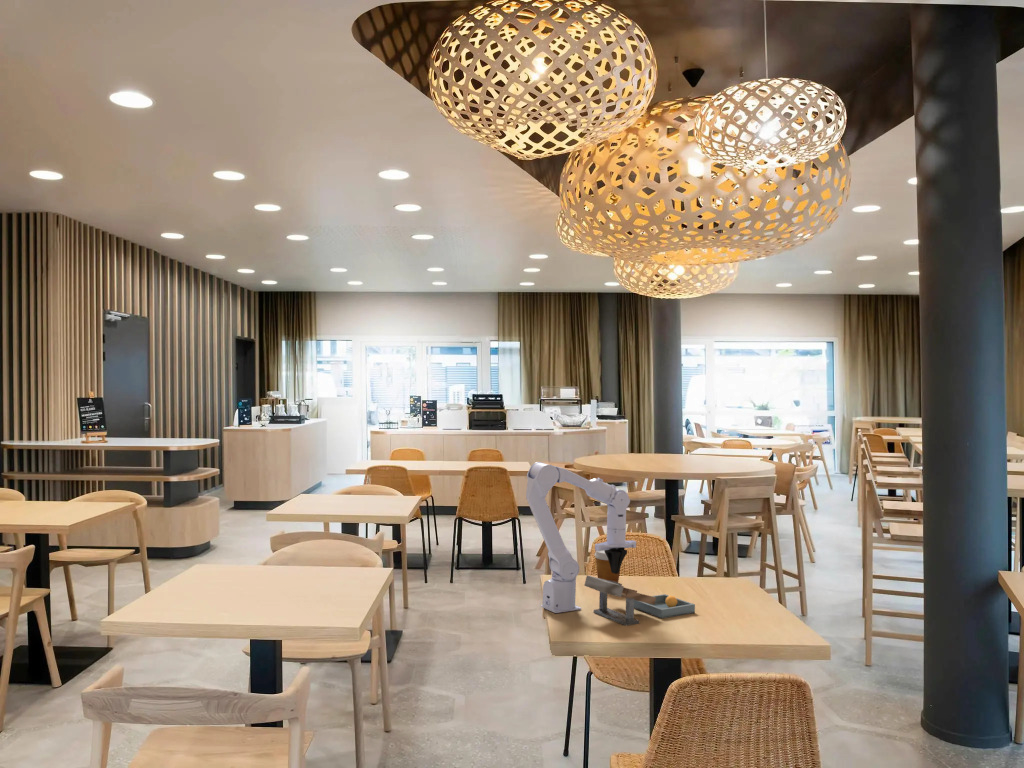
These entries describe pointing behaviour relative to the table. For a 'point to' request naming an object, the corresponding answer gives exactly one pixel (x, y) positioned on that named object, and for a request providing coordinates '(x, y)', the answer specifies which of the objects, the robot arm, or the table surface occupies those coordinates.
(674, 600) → the ball
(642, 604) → the tray
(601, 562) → the disposable coffee cup
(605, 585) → the chute
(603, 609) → the chute stand
